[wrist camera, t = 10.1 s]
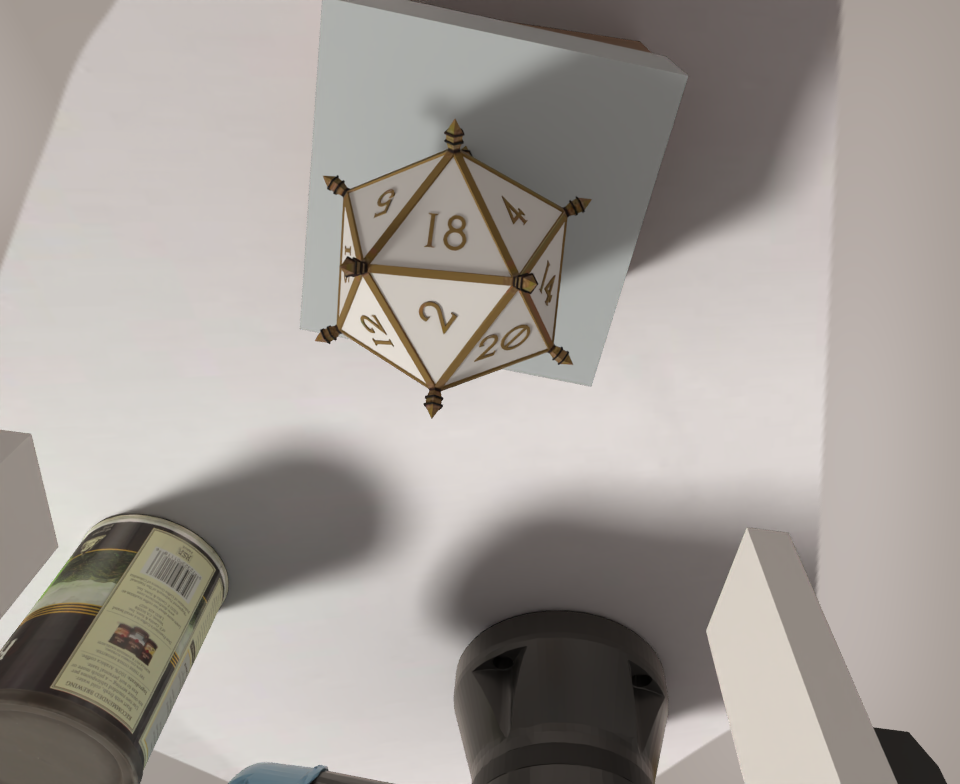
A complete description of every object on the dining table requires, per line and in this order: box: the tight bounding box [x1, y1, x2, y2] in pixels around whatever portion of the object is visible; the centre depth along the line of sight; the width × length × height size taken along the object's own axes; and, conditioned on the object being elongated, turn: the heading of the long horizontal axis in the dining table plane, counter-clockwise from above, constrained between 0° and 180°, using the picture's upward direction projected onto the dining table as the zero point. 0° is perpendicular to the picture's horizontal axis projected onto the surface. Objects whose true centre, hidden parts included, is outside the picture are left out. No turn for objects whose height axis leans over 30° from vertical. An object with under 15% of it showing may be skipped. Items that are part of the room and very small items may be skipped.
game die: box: [315, 119, 592, 418], centre depth 24 cm, size 9×8×10 cm
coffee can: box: [0, 514, 228, 784], centre depth 45 cm, size 10×10×14 cm
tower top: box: [300, 0, 688, 387], centre depth 29 cm, size 12×12×5 cm
